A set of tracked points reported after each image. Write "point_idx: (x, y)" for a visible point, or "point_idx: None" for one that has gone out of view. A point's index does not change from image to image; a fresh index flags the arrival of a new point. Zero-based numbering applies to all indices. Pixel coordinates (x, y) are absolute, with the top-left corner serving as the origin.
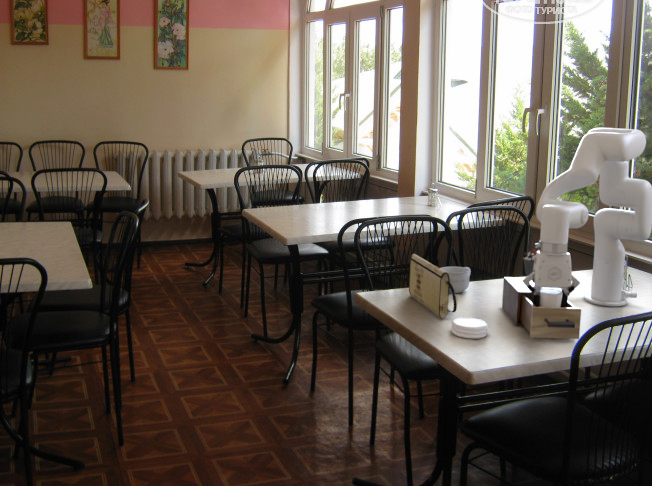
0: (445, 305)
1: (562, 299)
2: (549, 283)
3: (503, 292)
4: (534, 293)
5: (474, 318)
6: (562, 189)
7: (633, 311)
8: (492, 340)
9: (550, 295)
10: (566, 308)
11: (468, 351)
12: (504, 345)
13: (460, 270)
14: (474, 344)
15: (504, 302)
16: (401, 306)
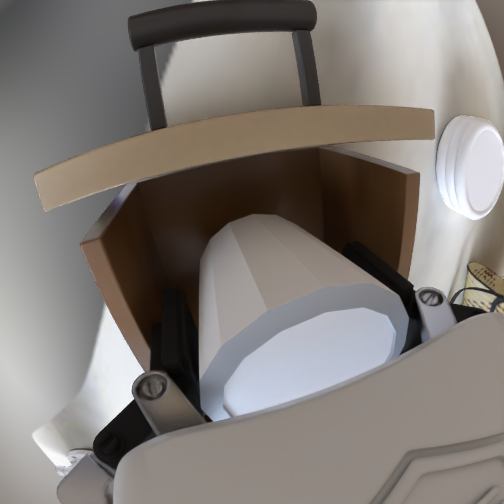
0: (488, 281)
1: (190, 345)
2: (446, 385)
3: None
4: (434, 296)
5: (473, 211)
6: None
7: (44, 434)
8: (428, 106)
9: (346, 280)
10: (164, 132)
11: (465, 32)
12: (404, 58)
13: None
14: (459, 76)
15: None
16: None
